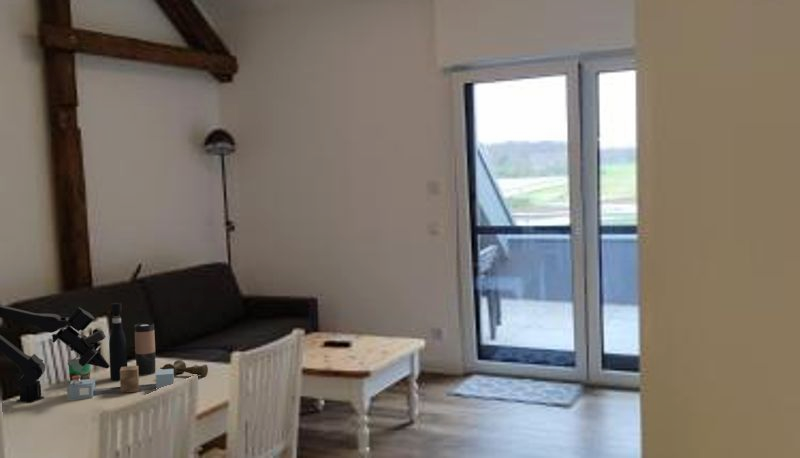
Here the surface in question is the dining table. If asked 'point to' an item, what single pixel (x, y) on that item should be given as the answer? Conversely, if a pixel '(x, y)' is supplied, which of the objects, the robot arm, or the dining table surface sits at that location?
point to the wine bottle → (117, 344)
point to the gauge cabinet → (81, 389)
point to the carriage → (129, 379)
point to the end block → (164, 377)
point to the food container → (78, 369)
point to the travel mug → (145, 348)
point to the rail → (118, 389)
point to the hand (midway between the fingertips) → (108, 367)
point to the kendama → (186, 368)
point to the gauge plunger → (76, 380)
